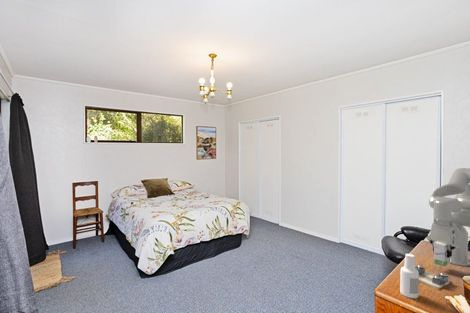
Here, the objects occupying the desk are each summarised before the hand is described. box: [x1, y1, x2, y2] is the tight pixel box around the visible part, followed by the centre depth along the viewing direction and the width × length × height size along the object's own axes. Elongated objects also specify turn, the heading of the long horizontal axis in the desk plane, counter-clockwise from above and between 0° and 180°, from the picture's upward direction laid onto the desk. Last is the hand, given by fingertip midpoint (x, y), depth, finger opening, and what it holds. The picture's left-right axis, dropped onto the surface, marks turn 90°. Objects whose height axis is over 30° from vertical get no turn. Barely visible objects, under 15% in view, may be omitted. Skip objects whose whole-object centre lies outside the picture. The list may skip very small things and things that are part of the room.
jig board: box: [419, 270, 452, 290], centre depth 127 cm, size 14×14×1 cm
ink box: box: [433, 241, 451, 267], centre depth 138 cm, size 8×5×12 cm, turn 124°
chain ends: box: [415, 264, 449, 286], centre depth 127 cm, size 9×13×3 cm
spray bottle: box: [399, 253, 420, 299], centre depth 114 cm, size 7×7×18 cm
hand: (442, 254), depth 138 cm, fingers closed on ink box, 5 cm apart
